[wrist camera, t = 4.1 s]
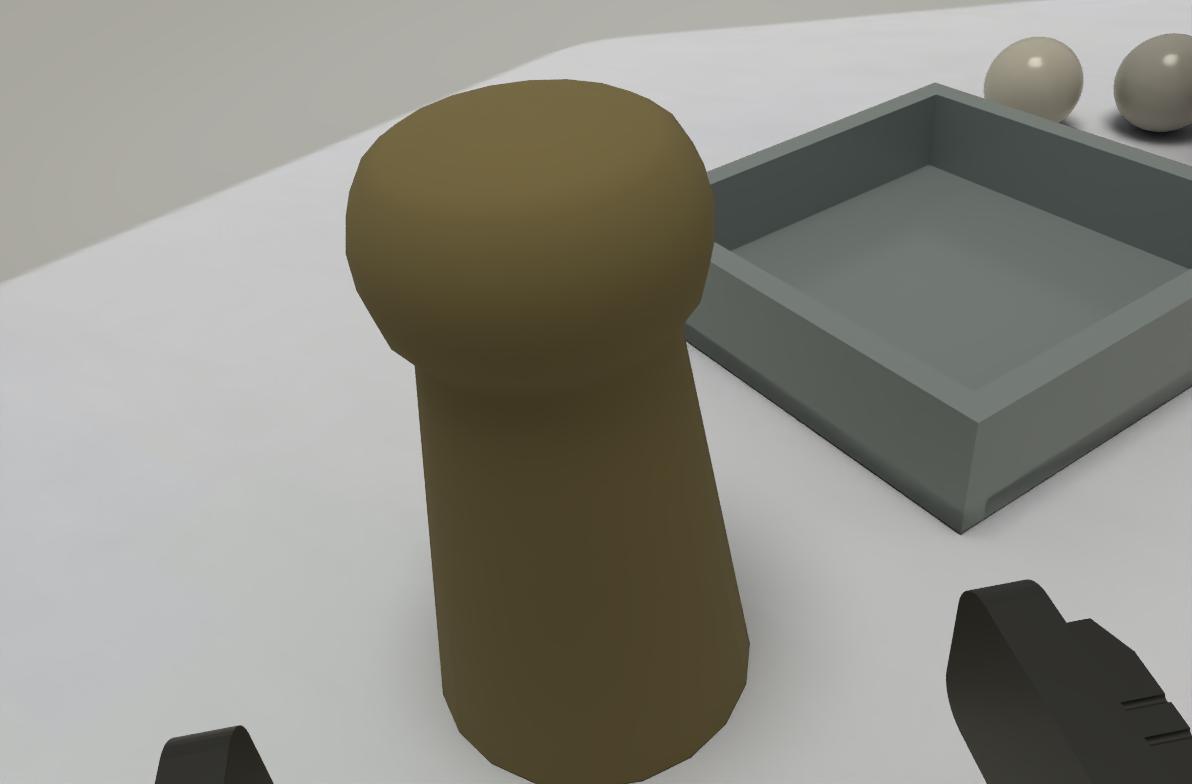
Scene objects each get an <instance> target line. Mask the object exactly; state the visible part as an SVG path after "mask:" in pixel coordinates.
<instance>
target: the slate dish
mask: <svg viewBox="0 0 1192 784" xmlns="http://www.w3.org/2000/svg"><path fill="white" fill-rule="evenodd" d="M706 173H707V176H708V179H709V183H710V186H711V189H712V193H713V196H714V199H715V241H714V246H713V251H712V257H711V262H710V267H709V271H708V275H707V279H706V283H705V287H704V290H703V294H702V298H701V302H700V304H699V305H698V306H697V308H696V309H695V310H694V312H693V313H692V314H691V315H690V317H689V318H688V319H687V320H686V322H685V323H684V324H683V331H684V336H685V340H686V341H688V342H689V343H691V344H692V345H693V346H695V347H696V348H698V349H699V350H701V351H702V352H703V353H705V354H706V355H708V356H709V357H710V358H712V359H713V360H715V361H716V362H718V363H719V364H720V365H722V366H723V367H725V368H726V369H727V370H729V371H730V372H732V373H733V374H735V375H736V376H737V377H739V378H740V379H742V380H743V381H744V382H746V383H747V384H749V385H750V386H752V387H753V388H754V389H756V390H757V391H759V392H760V393H761V394H763V395H764V396H766V397H767V398H769V399H770V400H771V401H773V402H774V403H776V404H777V405H778V406H780V407H781V408H783V409H784V410H786V411H787V412H788V413H790V414H791V415H793V416H794V417H795V418H797V419H798V420H800V421H801V422H803V423H804V424H805V425H807V426H808V427H810V428H811V429H812V430H814V431H815V432H817V433H818V434H820V435H821V436H822V437H824V438H825V439H827V440H828V441H829V442H831V443H832V444H834V445H835V446H837V447H838V448H839V449H841V450H842V451H844V452H845V453H846V454H848V455H849V456H851V457H852V458H854V459H855V460H856V461H858V462H859V463H861V464H862V465H863V466H865V467H866V468H868V469H869V470H871V471H872V472H873V473H875V474H876V475H878V476H879V477H880V478H882V479H883V480H885V481H886V482H888V483H889V484H890V485H892V486H893V487H895V488H896V489H897V490H899V491H900V492H902V493H903V494H905V495H906V496H907V497H909V498H910V499H912V500H913V501H914V502H916V503H917V504H919V505H920V506H922V507H923V508H924V509H926V510H927V511H929V512H930V513H931V514H933V515H934V516H936V517H937V518H939V519H940V520H941V521H943V522H944V523H946V524H947V525H948V526H950V527H951V528H953V529H954V530H956V531H957V532H958V533H960V534H961V533H963V532H964V531H966V530H967V529H969V528H970V527H972V526H973V525H975V524H977V523H978V522H980V521H981V520H983V519H984V518H986V517H988V516H989V515H991V514H992V513H994V512H995V511H997V510H998V509H1000V508H1002V507H1003V506H1005V505H1006V504H1008V503H1009V502H1011V501H1012V500H1014V499H1016V498H1017V497H1019V496H1020V495H1022V494H1023V493H1025V492H1027V491H1028V490H1030V489H1031V488H1033V487H1034V486H1036V485H1037V484H1039V483H1041V482H1042V481H1044V480H1045V479H1047V478H1048V477H1050V476H1052V475H1053V474H1055V473H1056V472H1058V471H1059V470H1061V469H1062V468H1064V467H1066V466H1067V465H1069V464H1070V463H1072V462H1073V461H1075V460H1077V459H1078V458H1080V457H1081V456H1083V455H1084V454H1086V453H1087V452H1089V451H1091V450H1092V449H1094V448H1095V447H1097V446H1098V445H1100V444H1102V443H1103V442H1105V441H1106V440H1108V439H1109V438H1111V437H1112V436H1114V435H1116V434H1117V433H1119V432H1120V431H1122V430H1123V429H1125V428H1127V427H1128V426H1130V425H1131V424H1133V423H1134V422H1136V421H1137V420H1139V419H1141V418H1142V417H1144V416H1145V415H1147V414H1148V413H1150V412H1152V411H1153V410H1155V409H1156V408H1158V407H1159V406H1161V405H1162V404H1164V403H1166V402H1167V401H1169V400H1170V399H1172V398H1173V397H1175V396H1176V395H1178V394H1180V393H1181V392H1183V391H1184V390H1186V389H1187V388H1189V387H1191V386H1192V167H1191V166H1188V165H1185V164H1182V163H1179V162H1176V161H1173V160H1170V159H1167V158H1164V157H1161V156H1158V155H1155V154H1152V153H1148V152H1145V151H1142V150H1139V149H1136V148H1133V147H1130V146H1127V145H1124V144H1121V143H1118V142H1115V141H1112V140H1109V139H1106V138H1103V137H1100V136H1097V135H1094V134H1090V133H1087V132H1084V131H1081V130H1078V129H1075V128H1072V127H1069V126H1066V125H1063V124H1060V123H1057V122H1054V121H1051V120H1048V119H1045V118H1042V117H1039V116H1035V115H1032V114H1029V113H1026V112H1023V111H1020V110H1017V109H1014V108H1011V107H1008V106H1005V105H1002V104H999V103H996V102H993V101H990V100H987V99H984V98H980V97H977V96H974V95H971V94H968V93H965V92H962V91H959V90H956V89H953V88H950V87H947V86H944V85H941V84H938V83H933V84H930V85H928V86H925V87H923V88H920V89H917V90H915V91H912V92H910V93H907V94H905V95H902V96H900V97H897V98H894V99H892V100H889V101H887V102H884V103H882V104H879V105H877V106H874V107H871V108H869V109H866V110H864V111H861V112H859V113H856V114H854V115H851V116H849V117H846V118H843V119H841V120H838V121H836V122H833V123H831V124H828V125H826V126H823V127H820V128H818V129H815V130H813V131H810V132H808V133H805V134H803V135H800V136H797V137H795V138H792V139H790V140H787V141H785V142H782V143H780V144H777V145H774V146H772V147H769V148H767V149H764V150H762V151H759V152H757V153H754V154H751V155H749V156H746V157H744V158H741V159H739V160H736V161H734V162H731V163H729V164H726V165H723V166H721V167H718V168H716V169H713V170H711V171H708V172H706Z"/></svg>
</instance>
